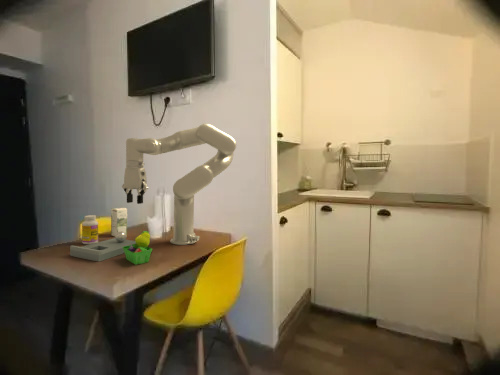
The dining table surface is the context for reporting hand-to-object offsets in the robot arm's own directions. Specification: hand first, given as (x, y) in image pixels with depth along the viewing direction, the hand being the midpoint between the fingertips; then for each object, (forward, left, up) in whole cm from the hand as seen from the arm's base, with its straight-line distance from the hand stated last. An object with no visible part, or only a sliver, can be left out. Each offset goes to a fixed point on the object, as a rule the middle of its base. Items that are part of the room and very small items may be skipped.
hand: (134, 202), depth 135 cm
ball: (0, +9, -15) cm, 17 cm away
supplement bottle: (+18, +10, -20) cm, 28 cm away
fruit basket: (-20, +19, -20) cm, 34 cm away
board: (0, +16, -20) cm, 25 cm away
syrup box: (+18, -7, -20) cm, 28 cm away
